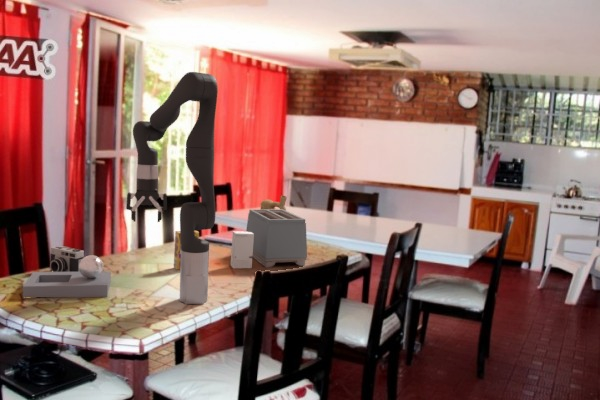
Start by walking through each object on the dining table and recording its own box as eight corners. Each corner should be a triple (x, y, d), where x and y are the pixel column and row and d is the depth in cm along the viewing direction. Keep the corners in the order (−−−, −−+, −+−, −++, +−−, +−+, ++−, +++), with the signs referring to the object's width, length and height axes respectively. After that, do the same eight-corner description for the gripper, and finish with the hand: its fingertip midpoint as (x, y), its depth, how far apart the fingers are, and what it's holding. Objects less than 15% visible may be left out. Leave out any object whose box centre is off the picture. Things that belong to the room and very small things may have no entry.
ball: (102, 281, 199) (102, 258, 198) (77, 281, 197) (77, 258, 196) (104, 274, 206) (104, 252, 205) (80, 275, 204) (80, 252, 203)
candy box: (177, 270, 233) (178, 232, 231) (173, 267, 237) (174, 230, 235) (198, 268, 238) (199, 231, 236) (193, 265, 242) (195, 229, 240)
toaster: (279, 249, 283) (281, 207, 281) (307, 266, 252) (309, 219, 249) (241, 250, 276) (243, 207, 273) (265, 268, 244) (267, 220, 242)
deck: (107, 296, 195) (107, 285, 194) (22, 298, 188) (22, 286, 188) (110, 281, 212) (110, 271, 212) (33, 283, 206) (33, 272, 205)
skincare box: (232, 269, 240) (234, 233, 238) (230, 265, 246) (231, 230, 244) (252, 268, 243) (254, 233, 241) (249, 265, 248) (251, 230, 246)
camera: (40, 272, 219) (41, 246, 218) (62, 269, 227) (63, 243, 226) (63, 279, 212) (64, 252, 211) (84, 276, 219) (86, 249, 218)
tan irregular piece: (273, 237, 310) (275, 191, 307) (296, 244, 295) (299, 195, 292) (246, 240, 299) (249, 192, 296) (269, 247, 284) (272, 197, 281)
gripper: (126, 177, 205) (125, 223, 207) (167, 178, 208) (166, 223, 210) (127, 175, 212) (127, 219, 214) (167, 176, 216) (166, 220, 218)
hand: (146, 221), depth 212 cm, fingers open, 8 cm apart
